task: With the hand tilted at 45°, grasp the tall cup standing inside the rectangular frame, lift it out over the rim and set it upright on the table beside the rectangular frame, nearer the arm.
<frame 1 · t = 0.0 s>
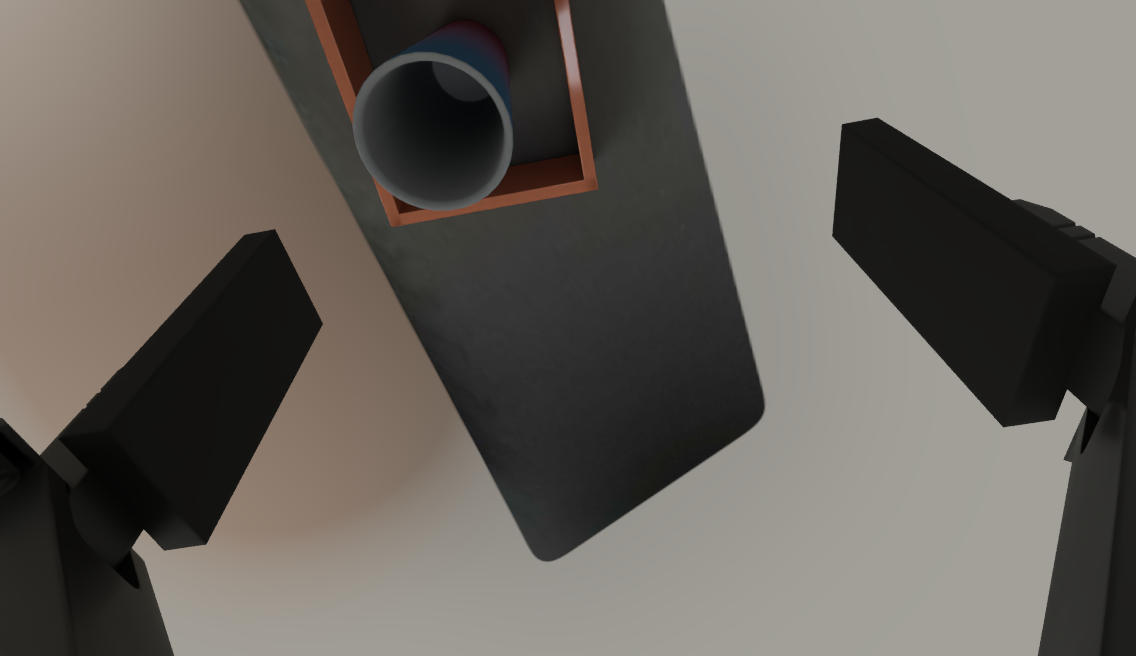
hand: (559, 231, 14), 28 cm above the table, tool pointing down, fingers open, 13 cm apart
rectangular frame: (468, 63, 38), on the table
cup: (468, 63, 38), resting in rectangular frame
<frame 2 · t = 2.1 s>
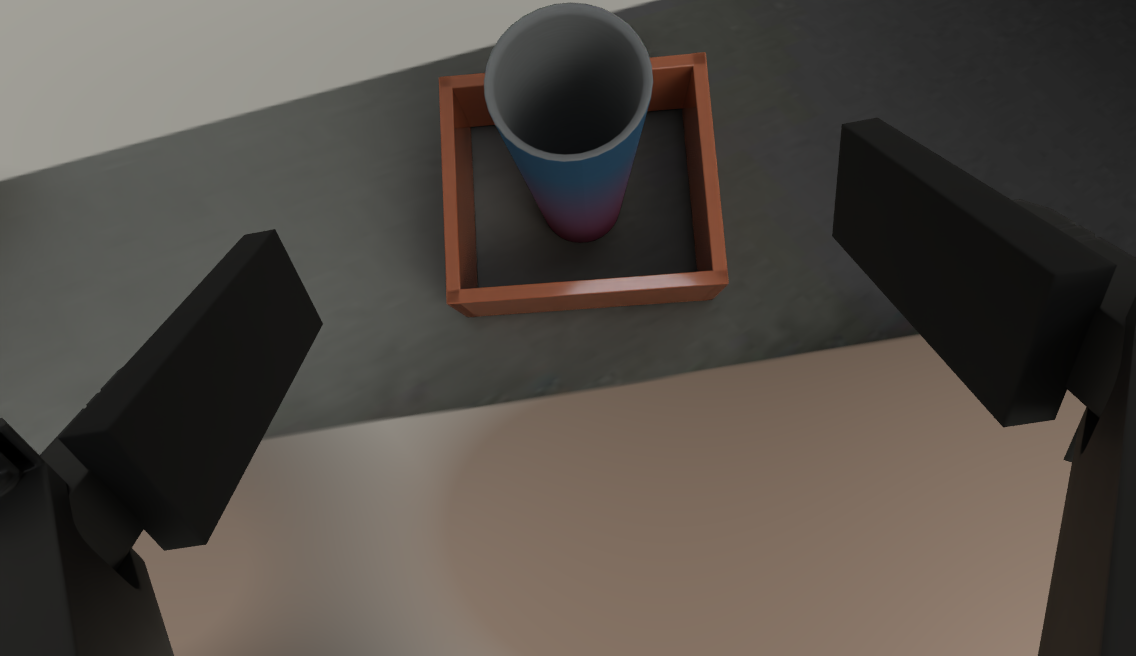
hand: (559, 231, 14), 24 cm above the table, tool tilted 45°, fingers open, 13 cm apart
rectangular frame: (581, 205, 39), on the table
cup: (581, 206, 39), resting in rectangular frame
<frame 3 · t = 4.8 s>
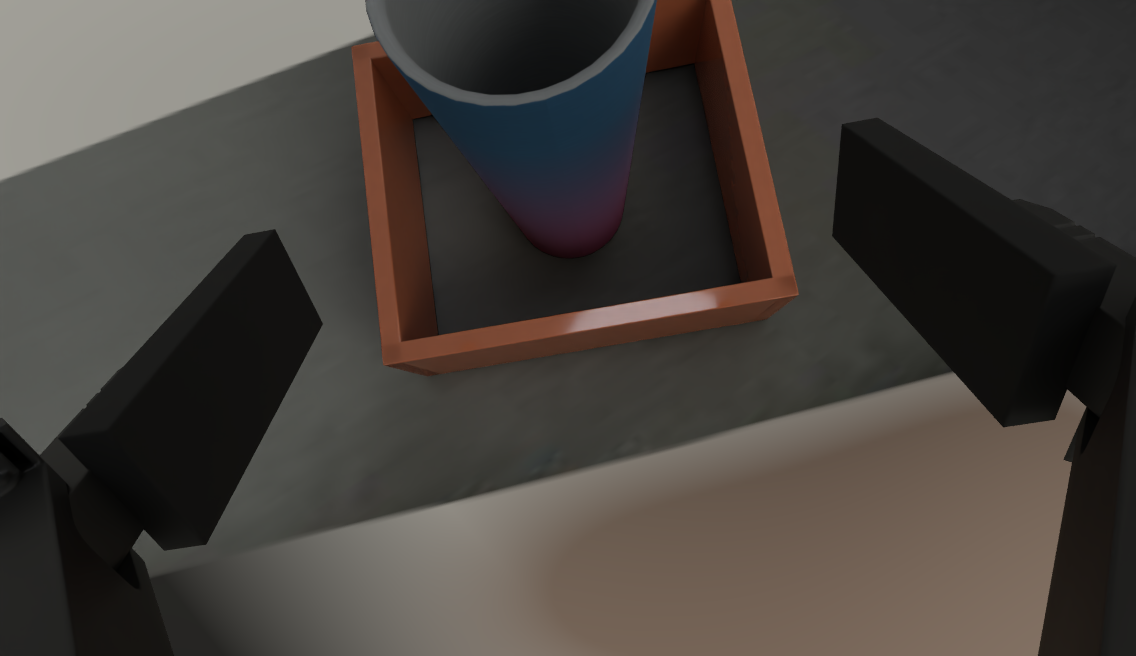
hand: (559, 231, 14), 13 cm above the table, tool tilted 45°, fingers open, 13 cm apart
rectangular frame: (570, 207, 28), on the table
cup: (570, 208, 28), resting in rectangular frame
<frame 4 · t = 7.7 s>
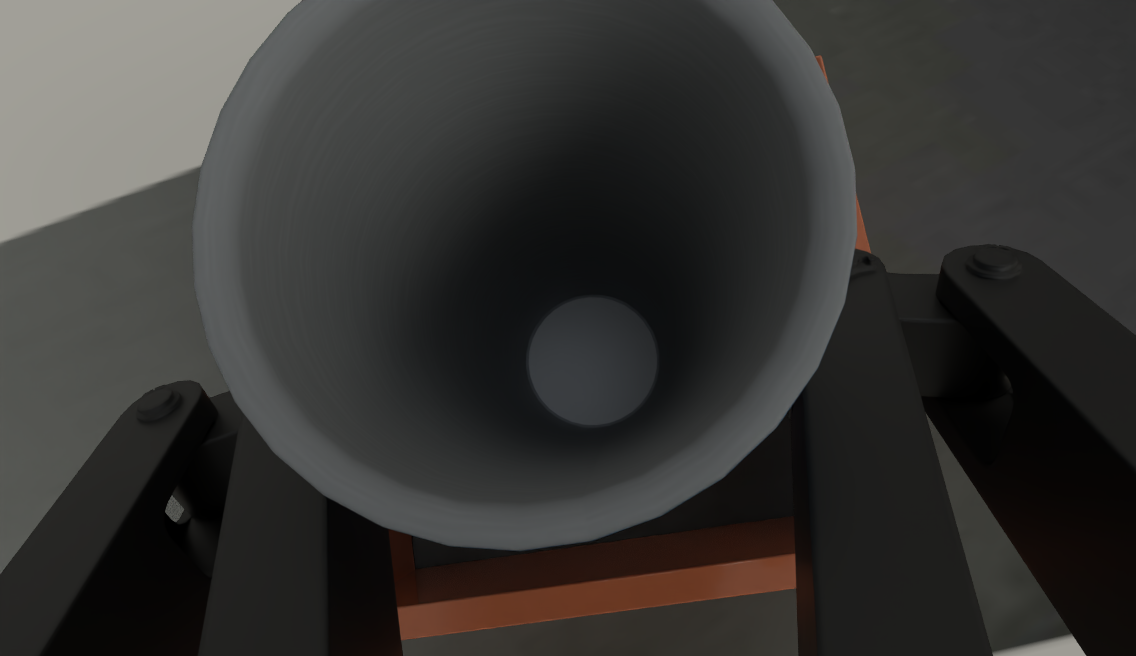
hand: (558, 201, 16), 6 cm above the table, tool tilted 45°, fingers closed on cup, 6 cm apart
rectangular frame: (592, 361, 21), on the table
cup: (593, 362, 21), resting in rectangular frame, touching gripper
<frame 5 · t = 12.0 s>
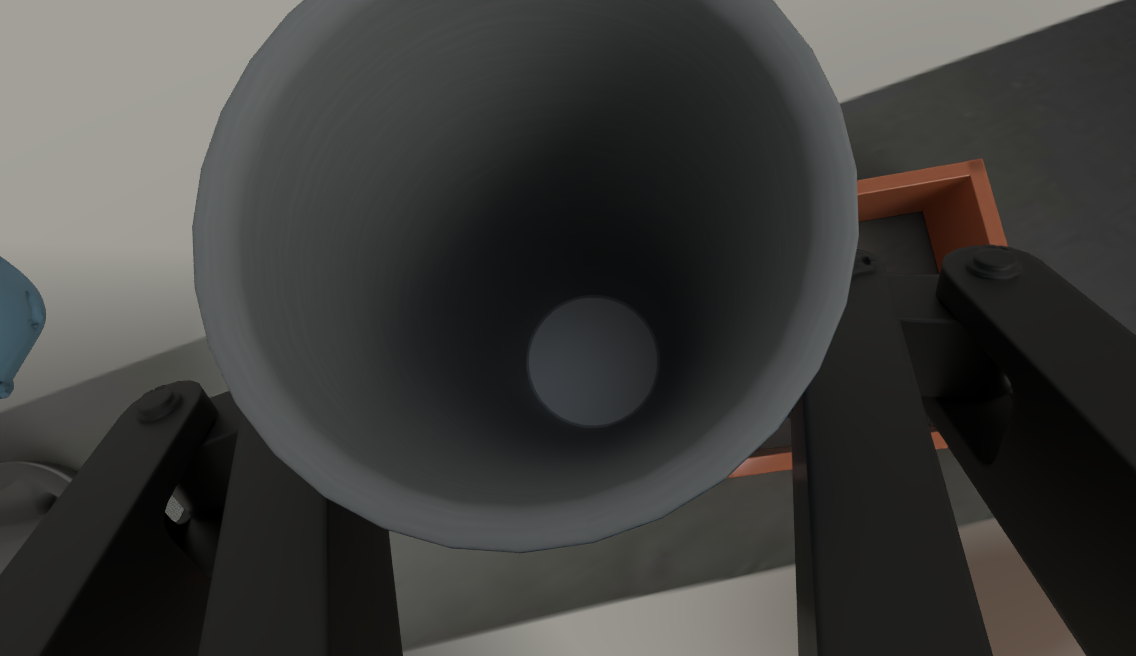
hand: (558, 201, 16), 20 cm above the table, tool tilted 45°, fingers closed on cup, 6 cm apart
rectangular frame: (821, 331, 34), on the table
cup: (593, 362, 21), point 14 cm above the table, touching gripper
when the fingers open (6 cm above the table, at t = 16.6 s): cup stays where it is, on the table.
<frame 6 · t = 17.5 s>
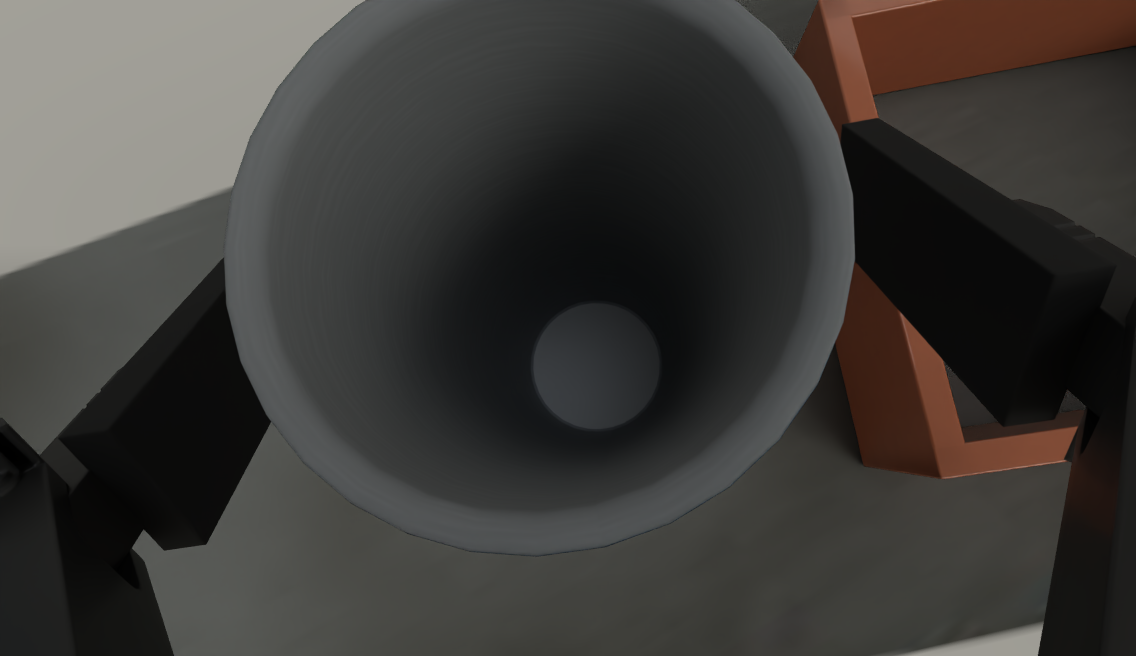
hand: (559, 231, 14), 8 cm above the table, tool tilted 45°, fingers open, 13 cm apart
rectangular frame: (1049, 230, 20), on the table
cup: (596, 366, 21), on the table
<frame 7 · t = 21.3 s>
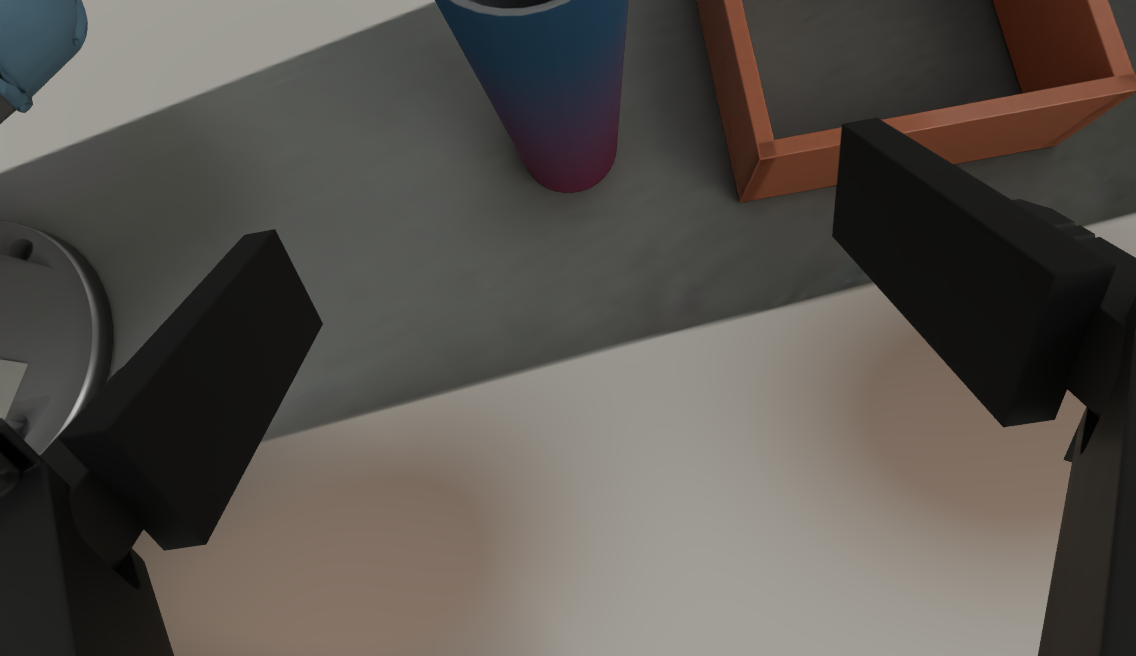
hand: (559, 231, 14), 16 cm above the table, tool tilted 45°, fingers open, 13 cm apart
rectangular frame: (862, 55, 31), on the table
cup: (570, 150, 32), on the table
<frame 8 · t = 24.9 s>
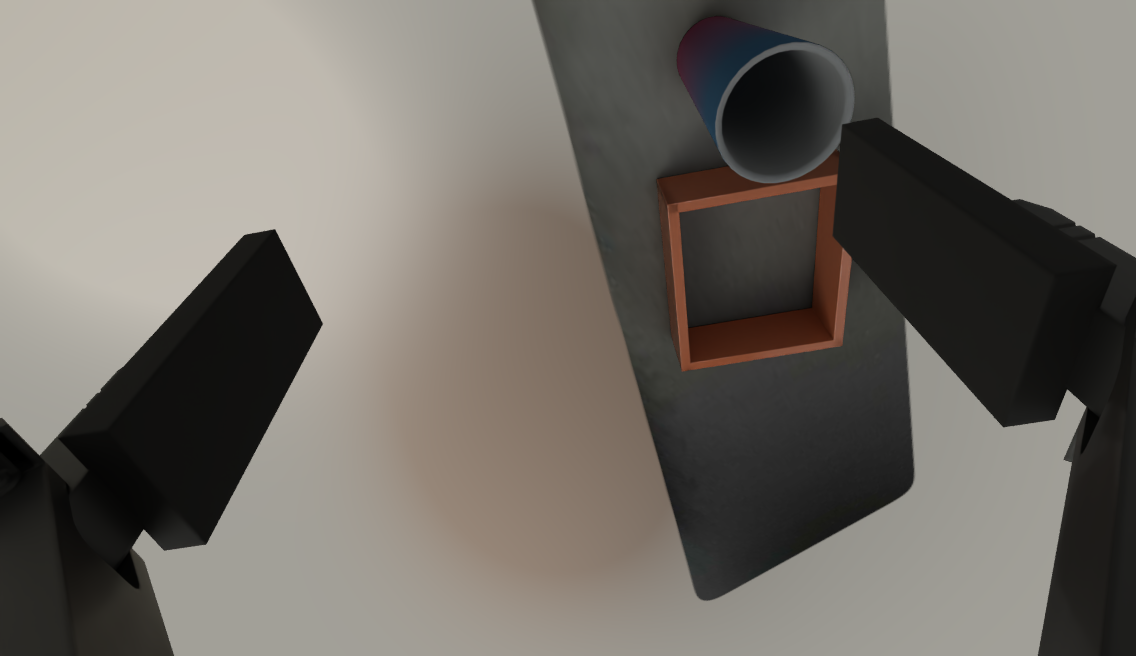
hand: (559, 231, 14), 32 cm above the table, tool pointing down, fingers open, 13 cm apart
rectangular frame: (744, 251, 51), on the table
cup: (711, 55, 42), on the table
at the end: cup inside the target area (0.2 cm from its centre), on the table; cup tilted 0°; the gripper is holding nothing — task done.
